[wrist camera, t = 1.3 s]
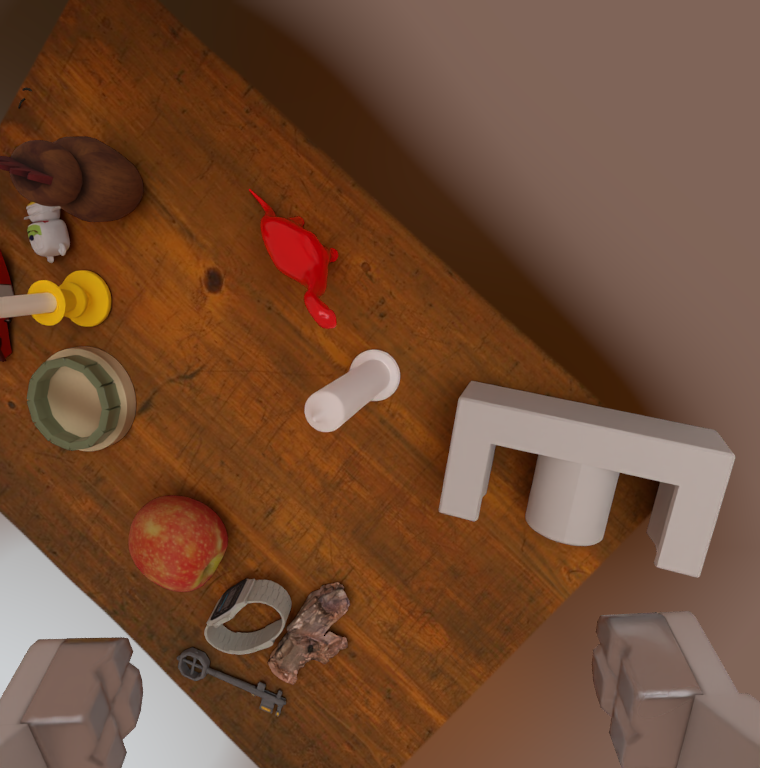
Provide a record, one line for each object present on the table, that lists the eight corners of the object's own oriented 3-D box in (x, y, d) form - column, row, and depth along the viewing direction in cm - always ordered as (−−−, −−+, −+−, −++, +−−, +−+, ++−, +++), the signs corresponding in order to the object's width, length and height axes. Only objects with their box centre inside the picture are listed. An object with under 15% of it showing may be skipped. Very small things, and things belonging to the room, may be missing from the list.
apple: (217, 578, 64) (172, 623, 57) (148, 530, 65) (95, 567, 58) (253, 516, 62) (211, 554, 55) (181, 467, 63) (130, 497, 55)
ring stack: (55, 331, 64) (30, 335, 60) (145, 366, 62) (124, 373, 59) (39, 425, 66) (13, 434, 63) (125, 462, 64) (103, 472, 61)
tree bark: (265, 655, 65) (254, 671, 62) (328, 567, 61) (319, 580, 59) (312, 691, 64) (303, 708, 62) (378, 604, 61) (371, 618, 58)
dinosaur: (263, 170, 55) (186, 150, 44) (393, 293, 55) (350, 306, 43) (236, 207, 57) (154, 197, 45) (363, 327, 56) (313, 349, 44)
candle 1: (77, 258, 61) (-74, 262, 46) (121, 291, 61) (-18, 305, 46) (55, 305, 63) (-98, 322, 48) (97, 337, 62) (-44, 365, 47)
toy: (9, 74, 54) (54, 258, 57) (48, 79, 57) (89, 255, 59) (-24, 96, 58) (19, 267, 61) (13, 99, 61) (53, 264, 63)
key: (171, 674, 67) (177, 646, 66) (176, 668, 68) (182, 641, 67) (279, 721, 65) (287, 693, 64) (283, 714, 66) (291, 686, 65)
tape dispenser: (718, 430, 50) (736, 455, 44) (685, 541, 52) (699, 578, 47) (470, 379, 54) (458, 396, 49) (451, 484, 57) (437, 512, 51)
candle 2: (372, 410, 57) (310, 466, 42) (340, 370, 57) (267, 412, 42) (411, 379, 56) (361, 426, 41) (378, 338, 56) (316, 371, 41)
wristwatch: (272, 559, 62) (249, 585, 58) (311, 613, 62) (292, 643, 58) (205, 602, 65) (178, 630, 60) (242, 654, 65) (218, 686, 61)
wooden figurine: (79, 182, 60) (-69, 162, 46) (114, 132, 58) (-29, 95, 44) (130, 236, 60) (-2, 232, 45) (167, 187, 58) (41, 167, 44)
